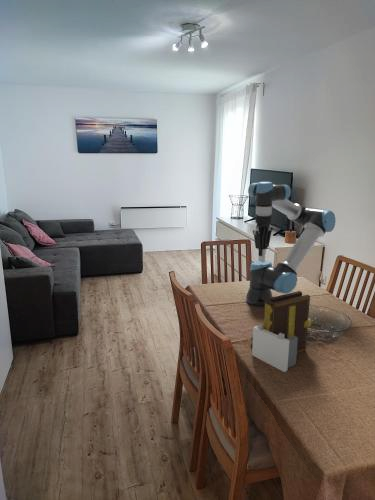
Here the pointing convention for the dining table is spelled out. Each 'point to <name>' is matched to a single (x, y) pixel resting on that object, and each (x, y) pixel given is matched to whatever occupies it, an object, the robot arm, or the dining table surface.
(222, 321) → the dining table surface
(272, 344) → the carcass
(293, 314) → the book
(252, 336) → the hinge block
